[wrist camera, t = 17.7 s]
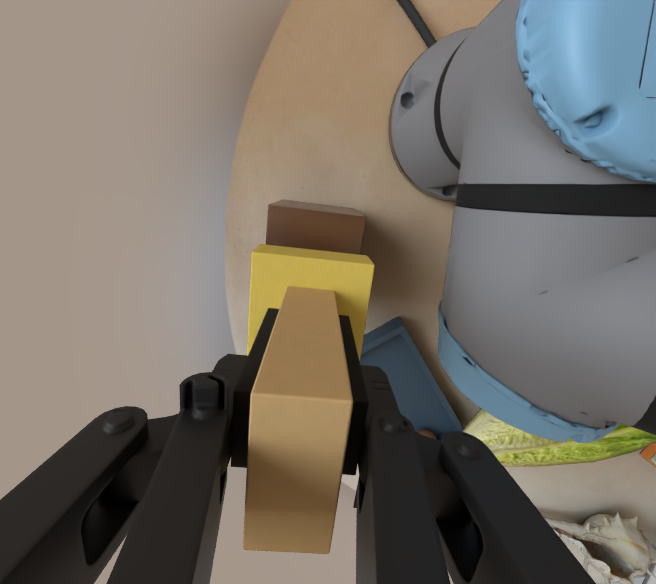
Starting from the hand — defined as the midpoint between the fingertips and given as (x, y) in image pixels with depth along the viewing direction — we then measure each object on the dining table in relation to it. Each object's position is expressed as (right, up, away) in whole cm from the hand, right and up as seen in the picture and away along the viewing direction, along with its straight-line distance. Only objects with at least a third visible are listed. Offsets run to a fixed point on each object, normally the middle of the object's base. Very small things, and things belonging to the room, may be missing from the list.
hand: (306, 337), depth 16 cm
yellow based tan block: (0, +1, +3) cm, 4 cm away
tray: (+11, -11, +28) cm, 32 cm away
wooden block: (-1, +7, +21) cm, 23 cm away
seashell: (+38, -33, +36) cm, 62 cm away
